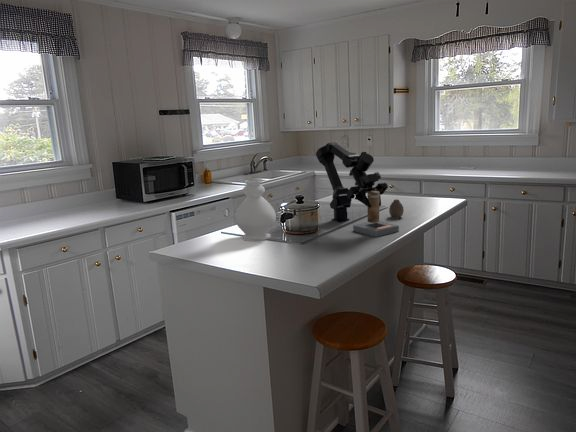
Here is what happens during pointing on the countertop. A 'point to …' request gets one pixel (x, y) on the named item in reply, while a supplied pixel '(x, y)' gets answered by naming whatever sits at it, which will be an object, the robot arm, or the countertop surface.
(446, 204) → the countertop surface
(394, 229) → the socket block
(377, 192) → the walnut peg
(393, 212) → the vase
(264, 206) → the decorative vase
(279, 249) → the countertop surface
